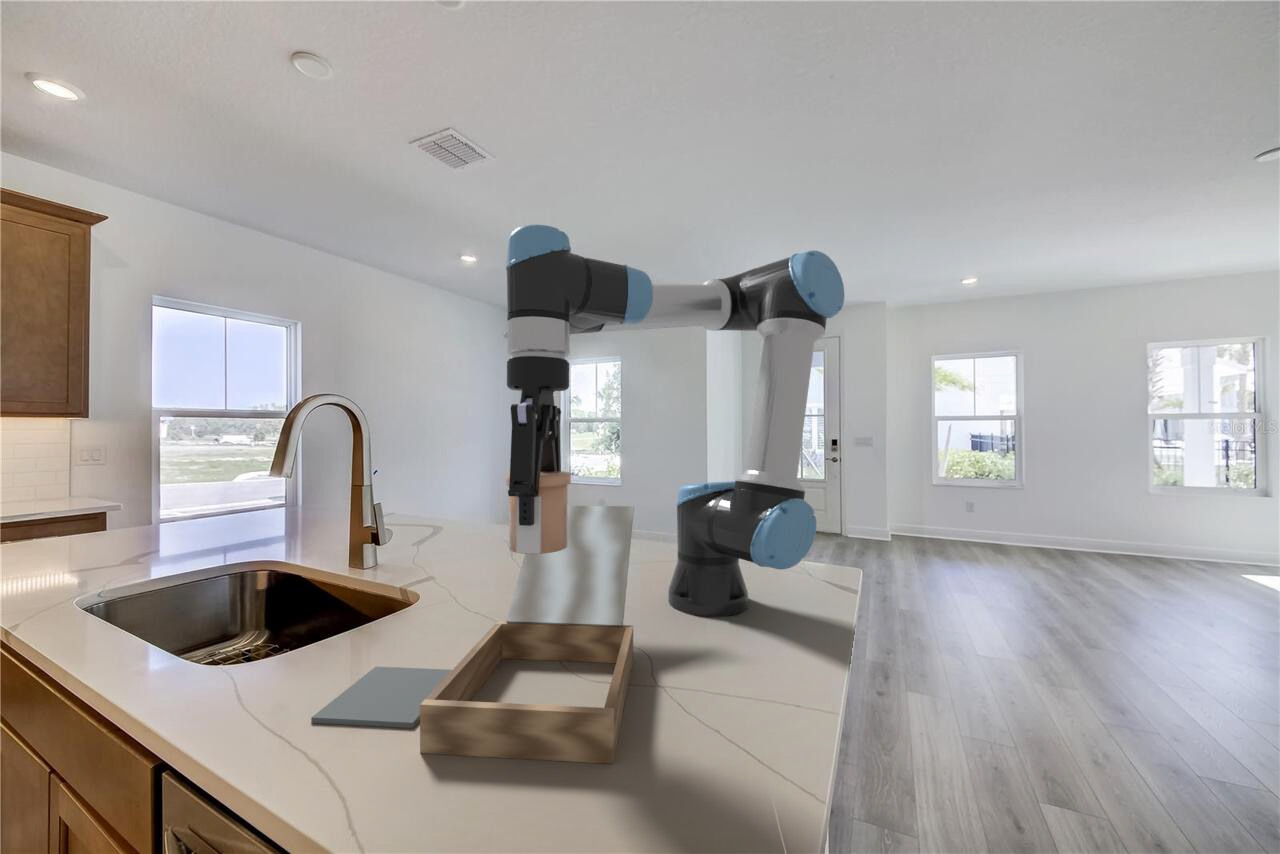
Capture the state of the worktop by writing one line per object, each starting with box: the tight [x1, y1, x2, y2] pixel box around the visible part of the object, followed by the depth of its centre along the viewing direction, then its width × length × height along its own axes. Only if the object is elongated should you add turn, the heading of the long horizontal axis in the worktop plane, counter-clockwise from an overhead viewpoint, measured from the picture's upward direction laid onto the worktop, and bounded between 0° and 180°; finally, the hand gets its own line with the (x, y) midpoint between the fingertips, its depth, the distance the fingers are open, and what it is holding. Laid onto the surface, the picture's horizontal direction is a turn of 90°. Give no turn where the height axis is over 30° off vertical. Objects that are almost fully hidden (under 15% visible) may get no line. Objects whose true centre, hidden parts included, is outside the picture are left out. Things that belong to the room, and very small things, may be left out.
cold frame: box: [419, 505, 635, 765], centre depth 70 cm, size 20×39×20 cm, turn 175°
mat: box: [310, 666, 453, 729], centre depth 62 cm, size 12×12×1 cm
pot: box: [505, 470, 572, 555], centre depth 61 cm, size 8×8×9 cm
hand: (538, 544), depth 61 cm, fingers closed on pot, 7 cm apart
